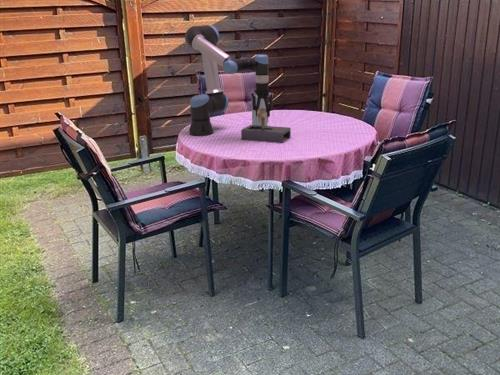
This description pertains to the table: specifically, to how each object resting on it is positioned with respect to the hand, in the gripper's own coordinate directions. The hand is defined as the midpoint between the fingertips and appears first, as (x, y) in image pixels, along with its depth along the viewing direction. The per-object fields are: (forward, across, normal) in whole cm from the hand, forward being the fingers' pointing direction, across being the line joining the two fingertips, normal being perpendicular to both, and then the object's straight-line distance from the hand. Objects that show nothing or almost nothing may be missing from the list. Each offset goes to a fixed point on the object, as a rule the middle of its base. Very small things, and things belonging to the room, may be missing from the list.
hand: (262, 122), depth 303 cm
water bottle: (+10, -12, +24) cm, 29 cm away
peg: (+9, 0, 0) cm, 9 cm away
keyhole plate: (+10, +2, 0) cm, 10 cm away
